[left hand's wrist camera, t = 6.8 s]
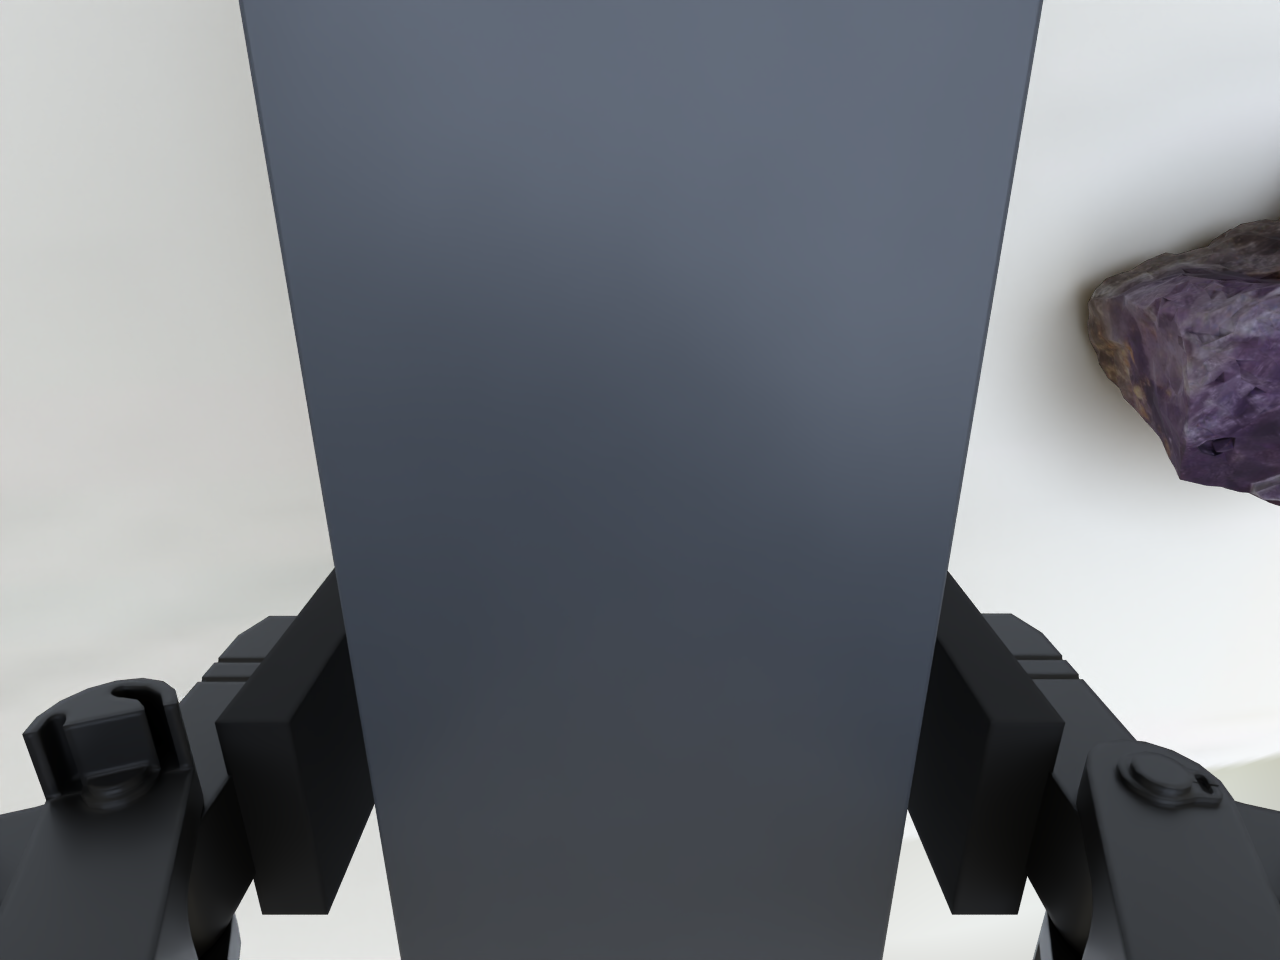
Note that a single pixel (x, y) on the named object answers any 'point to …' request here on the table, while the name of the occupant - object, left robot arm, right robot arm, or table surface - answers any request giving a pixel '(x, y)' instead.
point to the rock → (1202, 355)
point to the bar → (641, 439)
